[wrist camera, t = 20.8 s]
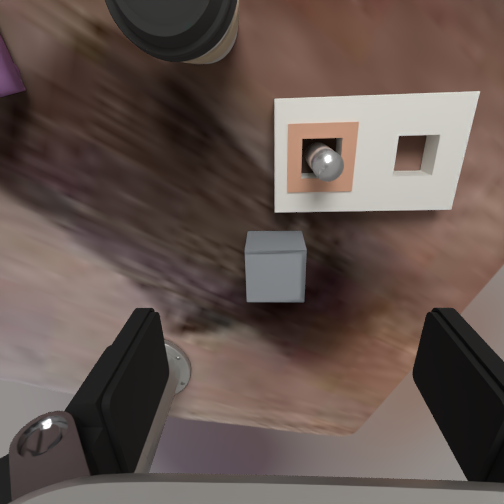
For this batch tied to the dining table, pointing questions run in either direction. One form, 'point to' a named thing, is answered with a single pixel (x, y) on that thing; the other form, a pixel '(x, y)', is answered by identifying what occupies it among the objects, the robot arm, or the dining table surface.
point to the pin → (324, 161)
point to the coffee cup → (179, 27)
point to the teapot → (8, 73)
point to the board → (372, 150)
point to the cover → (275, 266)
